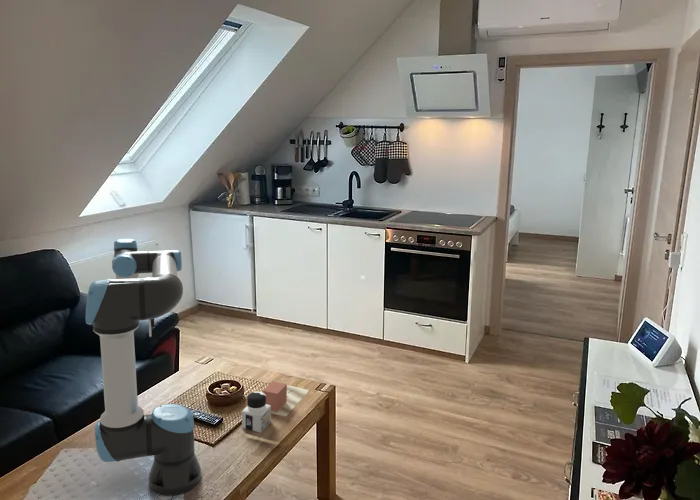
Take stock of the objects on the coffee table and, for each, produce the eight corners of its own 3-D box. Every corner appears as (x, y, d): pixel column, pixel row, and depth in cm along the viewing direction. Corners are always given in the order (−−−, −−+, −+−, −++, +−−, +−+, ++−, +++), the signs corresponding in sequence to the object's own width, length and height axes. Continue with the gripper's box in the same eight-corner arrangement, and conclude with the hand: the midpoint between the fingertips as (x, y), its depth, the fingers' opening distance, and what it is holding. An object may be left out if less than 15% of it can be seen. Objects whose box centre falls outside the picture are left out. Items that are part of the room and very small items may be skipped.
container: (260, 435, 188) (261, 401, 185) (241, 430, 191) (241, 397, 188) (271, 424, 195) (271, 391, 192) (252, 419, 198) (252, 387, 195)
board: (285, 419, 199) (285, 416, 199) (252, 411, 203) (252, 408, 203) (309, 392, 219) (309, 389, 219) (278, 385, 224) (278, 383, 223)
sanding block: (277, 413, 201) (277, 393, 199) (262, 409, 203) (262, 390, 201) (286, 402, 208) (286, 384, 206) (272, 399, 210) (272, 381, 208)
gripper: (164, 276, 200) (166, 330, 205) (90, 280, 191) (94, 336, 196) (164, 282, 193) (166, 337, 198) (87, 287, 184) (92, 344, 189)
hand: (130, 337), depth 197 cm, fingers open, 13 cm apart
